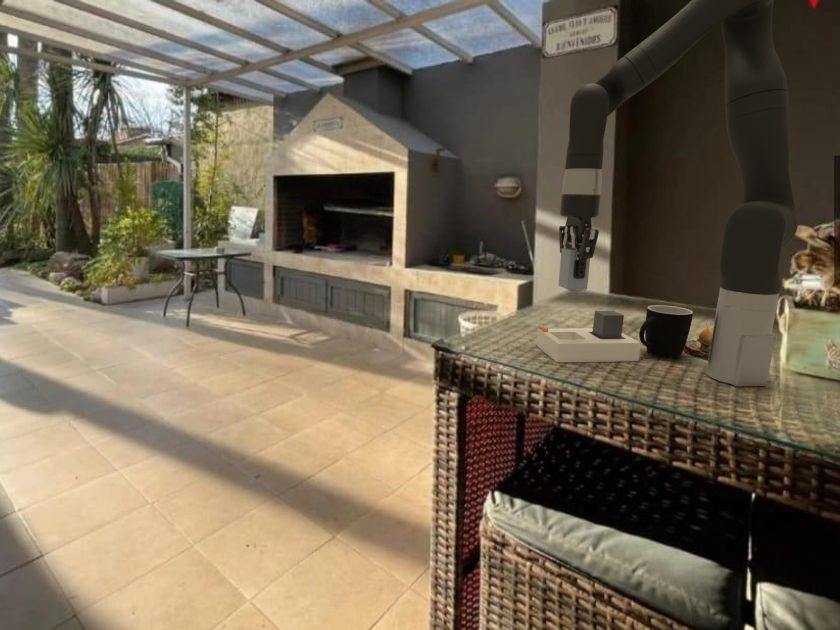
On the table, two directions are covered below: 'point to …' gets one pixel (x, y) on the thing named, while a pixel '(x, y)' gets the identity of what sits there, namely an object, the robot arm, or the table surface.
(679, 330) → the mug
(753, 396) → the table surface
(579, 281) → the plug
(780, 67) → the robot arm
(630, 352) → the white socket base
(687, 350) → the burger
